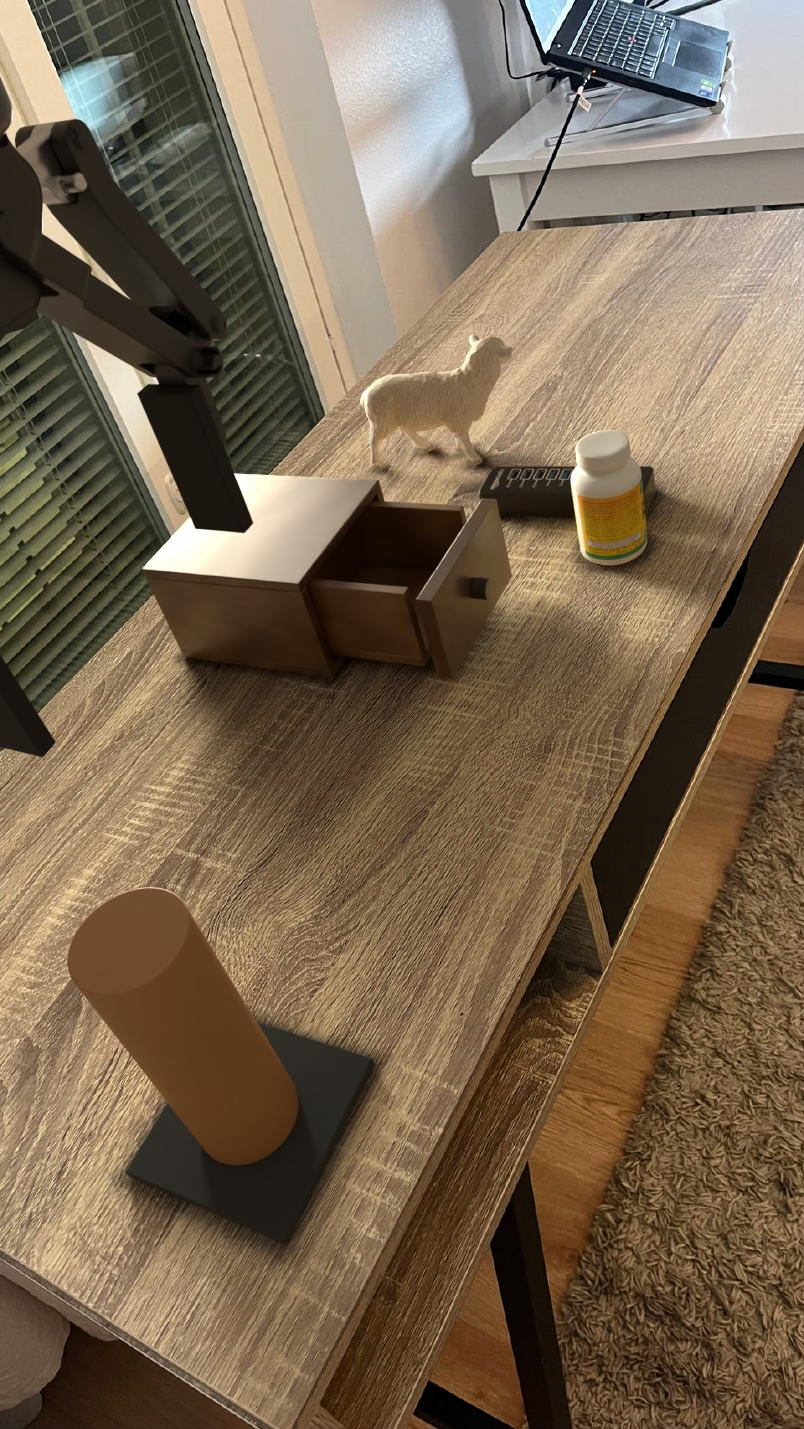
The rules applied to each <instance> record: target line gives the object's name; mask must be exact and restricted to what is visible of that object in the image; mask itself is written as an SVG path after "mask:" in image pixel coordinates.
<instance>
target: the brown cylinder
mask: <svg viewBox="0 0 804 1429" xmlns="http://www.w3.org/2000/svg"><path fill="white" fill-rule="evenodd" d="M66 960H67V961H66V962H67V971H68V974H69V976H70V979H71V981H72V982H73V983H74V985H75V986H76V987H77V988H78V990H79V991H80V992H81V994H82V995H83V996H84V998H85V999H86V1000H87V1001H88V1003H89V1004H90V1005H91V1007H92V1008H93V1009H94V1011H95V1012H96V1013H97V1014H98V1016H99V1017H100V1018H101V1020H102V1021H103V1022H104V1023H105V1024H106V1026H107V1027H108V1028H109V1029H110V1031H111V1032H112V1033H113V1035H114V1036H115V1037H116V1039H118V1041H119V1042H120V1044H121V1045H122V1046H123V1048H124V1049H125V1050H126V1051H127V1053H128V1054H129V1056H131V1058H132V1059H133V1060H134V1062H135V1063H136V1064H137V1065H138V1067H139V1068H140V1070H142V1072H143V1073H144V1074H145V1076H146V1077H147V1078H148V1080H149V1081H150V1082H151V1083H152V1085H153V1086H154V1088H155V1089H156V1090H157V1092H158V1093H159V1094H160V1095H161V1096H162V1097H163V1099H164V1100H165V1101H166V1103H167V1102H168V1104H169V1105H170V1106H171V1108H172V1109H173V1110H174V1111H175V1113H176V1114H177V1115H178V1117H179V1118H180V1119H181V1120H182V1122H183V1123H184V1124H185V1126H186V1127H187V1128H188V1129H189V1131H190V1132H191V1133H192V1134H193V1136H194V1137H195V1138H196V1140H197V1141H198V1142H199V1143H200V1145H201V1146H202V1147H203V1149H204V1150H205V1151H206V1152H207V1153H208V1154H209V1155H210V1156H211V1157H212V1158H214V1159H215V1160H217V1161H219V1162H221V1163H224V1164H228V1165H246V1164H250V1163H254V1162H256V1161H259V1160H261V1159H263V1158H265V1157H267V1156H268V1155H270V1154H271V1153H273V1152H274V1151H275V1150H276V1149H277V1148H278V1147H279V1146H280V1145H281V1144H282V1143H283V1142H284V1141H285V1139H286V1138H287V1137H288V1135H289V1134H290V1132H291V1130H292V1128H293V1126H294V1124H295V1121H296V1118H297V1113H298V1104H299V1102H298V1094H297V1090H296V1087H295V1085H294V1083H293V1081H292V1080H291V1078H290V1076H289V1075H288V1073H287V1071H286V1070H285V1068H284V1066H283V1065H282V1063H281V1062H280V1060H279V1058H278V1057H277V1055H276V1053H275V1052H274V1050H273V1048H272V1047H271V1045H270V1043H269V1042H268V1040H267V1038H266V1037H265V1035H264V1033H263V1032H262V1030H261V1028H260V1027H259V1025H258V1023H257V1022H258V1021H257V1020H256V1019H255V1017H254V1015H253V1013H252V1012H251V1010H250V1008H249V1007H248V1006H247V1004H246V1002H245V1000H244V998H243V997H242V995H241V994H240V992H239V990H238V989H237V987H236V986H235V984H234V982H233V980H232V979H231V977H230V975H229V973H228V972H227V971H226V968H225V967H224V965H223V963H222V962H221V960H220V958H219V957H218V955H217V953H216V952H215V951H214V948H213V947H212V946H211V943H210V942H209V941H208V939H207V937H206V936H205V934H204V933H203V930H202V929H201V927H200V925H199V924H198V922H197V921H196V919H195V918H194V916H193V914H192V912H191V910H190V909H189V907H188V906H187V904H186V903H185V901H184V900H183V899H182V898H181V897H180V896H178V894H176V893H175V892H172V891H170V890H167V889H165V888H161V887H152V886H151V887H141V888H140V887H138V888H134V889H130V890H127V891H125V892H122V893H119V894H117V895H115V896H113V897H111V898H109V899H107V900H106V901H104V902H103V903H101V904H100V905H98V906H97V907H96V908H95V909H94V910H93V911H92V912H90V914H89V915H88V916H87V917H86V918H85V919H84V920H83V921H82V923H81V924H80V925H79V927H78V928H77V929H76V931H75V932H74V934H73V937H72V939H71V941H70V944H69V946H68V950H67V958H66ZM256 1021H257V1022H256Z"/></svg>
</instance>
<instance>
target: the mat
mask: <svg viewBox="0 0 804 1429" xmlns="http://www.w3.org/2000/svg"><path fill="white" fill-rule="evenodd" d="M256 1022H257V1023H258V1025H259V1027H260V1028H261V1030H262V1032H263V1033H264V1035H265V1037H266V1038H267V1040H268V1042H269V1043H270V1045H271V1047H272V1048H273V1050H274V1052H275V1053H276V1055H277V1057H278V1058H279V1060H280V1062H281V1063H282V1065H283V1066H284V1068H285V1070H286V1071H287V1073H288V1075H289V1076H290V1078H291V1080H292V1081H293V1083H294V1085H295V1087H296V1090H297V1094H298V1102H299V1104H298V1113H297V1118H296V1121H295V1124H294V1126H293V1128H292V1130H291V1132H290V1134H289V1135H288V1137H287V1138H286V1139H285V1141H284V1142H283V1143H282V1144H281V1145H280V1146H279V1147H278V1148H277V1149H276V1150H275V1151H274V1152H273V1153H271V1154H270V1155H268V1156H267V1157H265V1158H263V1159H261V1160H259V1161H256V1162H254V1163H250V1164H246V1165H228V1164H224V1163H221V1162H219V1161H217V1160H215V1159H214V1158H212V1157H211V1156H210V1155H209V1154H208V1153H207V1152H206V1151H205V1150H204V1149H203V1147H202V1146H201V1145H200V1143H199V1142H198V1141H197V1140H196V1138H195V1137H194V1136H193V1134H192V1133H191V1132H190V1131H189V1129H188V1128H187V1127H186V1126H185V1124H184V1123H183V1122H182V1120H181V1119H180V1118H179V1117H178V1115H177V1114H176V1113H175V1111H174V1110H173V1109H172V1108H171V1106H170V1105H169V1104H168V1102H167V1101H166V1103H165V1105H164V1107H163V1109H162V1111H160V1114H159V1115H158V1117H157V1119H156V1120H155V1122H154V1123H153V1125H152V1127H151V1129H150V1130H149V1132H148V1133H147V1136H145V1139H144V1140H143V1142H142V1143H141V1145H140V1147H139V1148H138V1150H137V1151H136V1153H135V1155H134V1157H133V1158H132V1160H131V1162H130V1163H129V1165H128V1166H127V1168H126V1170H125V1174H126V1176H128V1178H131V1179H133V1180H135V1181H138V1182H140V1183H141V1184H143V1185H147V1186H148V1187H151V1188H154V1189H156V1190H158V1191H160V1192H163V1193H165V1194H168V1195H169V1196H172V1197H175V1198H177V1199H179V1200H181V1201H184V1202H186V1203H188V1204H190V1205H193V1206H196V1207H198V1208H200V1209H202V1210H204V1211H207V1212H209V1213H212V1214H214V1215H216V1216H218V1217H221V1218H223V1219H225V1220H228V1221H230V1222H232V1223H234V1224H238V1225H240V1226H242V1227H243V1228H246V1229H249V1230H251V1231H254V1232H256V1233H258V1234H260V1235H263V1236H265V1237H267V1238H270V1239H272V1240H274V1241H277V1242H278V1243H282V1244H284V1245H288V1243H289V1241H290V1240H291V1237H292V1235H293V1233H294V1231H295V1230H296V1227H297V1225H298V1223H299V1221H300V1219H301V1216H302V1214H303V1212H304V1211H305V1208H306V1206H307V1204H308V1203H309V1200H310V1199H311V1196H312V1194H313V1192H314V1190H315V1189H316V1186H317V1183H318V1182H319V1179H320V1178H321V1175H323V1174H322V1173H323V1172H324V1169H325V1168H326V1165H327V1164H328V1161H329V1159H330V1157H331V1155H332V1154H333V1151H334V1149H335V1147H336V1145H337V1143H338V1141H339V1139H340V1136H341V1134H342V1132H343V1131H344V1129H345V1127H346V1124H347V1122H348V1120H349V1118H350V1116H351V1114H352V1112H353V1110H354V1108H355V1106H356V1104H357V1102H358V1100H359V1098H360V1095H361V1094H362V1091H363V1089H364V1087H365V1085H366V1083H367V1081H368V1080H369V1077H370V1076H371V1073H372V1072H373V1069H374V1067H375V1064H376V1063H375V1061H374V1059H373V1058H372V1057H369V1056H365V1055H364V1054H363V1055H362V1054H360V1053H357V1052H354V1051H350V1050H347V1049H344V1048H341V1047H338V1046H335V1045H331V1044H328V1043H325V1042H322V1041H319V1040H315V1039H313V1038H310V1037H306V1036H303V1035H300V1034H298V1033H294V1032H292V1031H289V1030H285V1029H282V1028H278V1027H276V1026H273V1025H269V1024H266V1023H263V1022H260V1021H257V1020H256Z"/></svg>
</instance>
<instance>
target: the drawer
mask: <svg viewBox="0 0 804 1429" xmlns="http://www.w3.org/2000/svg"><path fill="white" fill-rule="evenodd" d="M464 507H465V506H464V505H463V504H447V503H427V502H409V501H408V502H407V501H405V502H404V501H386V500H385V501H371V502H370V503H369V504H368V505H367V507H366V508H365V509H364V511H363V512H362V513H361V515H360V516H359V517H358V519H357V520H356V521H355V523H354V524H353V525H352V526H351V528H350V529H349V530H348V532H347V533H346V534H345V536H344V537H343V538H342V540H341V541H340V542H339V543H338V545H337V546H336V547H335V549H334V550H333V551H332V553H331V554H330V555H329V557H328V558H327V559H326V561H325V562H324V563H323V564H322V566H321V567H320V568H319V570H318V571H317V572H316V574H315V575H314V576H313V578H312V579H311V580H310V582H309V583H308V584H307V585H306V587H307V590H308V593H309V595H310V598H311V601H312V604H313V606H314V609H315V612H316V615H317V617H318V620H319V623H320V626H321V628H322V631H323V634H324V637H325V639H326V642H327V645H328V648H329V650H330V653H331V654H333V655H341V656H347V657H349V658H357V659H366V660H372V661H381V662H389V663H395V664H405V665H413V666H421V667H426V665H427V664H428V662H429V660H430V659H432V661H433V665H434V668H435V669H434V670H435V672H436V676H437V678H438V679H443V680H453V679H454V678H455V676H456V675H457V673H458V671H459V669H460V667H461V665H462V664H463V662H464V661H465V659H466V657H467V656H468V653H469V652H470V651H471V648H472V647H473V645H474V644H475V642H476V640H477V638H478V636H479V634H480V633H481V631H482V629H483V628H484V626H485V624H486V622H487V621H488V619H489V618H490V616H491V614H492V613H493V611H494V608H495V607H496V605H497V604H498V602H499V600H500V598H501V597H502V595H503V593H504V591H505V590H506V588H507V586H508V584H509V583H510V581H511V579H512V578H513V575H512V569H511V564H510V560H509V554H508V550H507V549H508V548H507V545H506V540H505V534H504V529H503V524H502V520H501V516H500V514H499V509H498V504H497V500H496V499H482V500H481V501H480V500H479V503H478V504H477V506H476V507H475V509H474V511H473V512H472V513H471V515H470V516H469V517H468V519H467V516H466V512H465V508H464Z"/></svg>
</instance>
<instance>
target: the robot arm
mask: <svg viewBox="0 0 804 1429" xmlns="http://www.w3.org/2000/svg"><path fill="white" fill-rule="evenodd" d="M13 118H14V108H13V104H12V100H11V97H10V96H9V94H8V91H7V89H6V86H5V84H4V81H3V79H2V77H1V76H0V342H1V341H2V340H3V339H4V337H5V336H6V335H7V334H10V333H14V332H17V331H21V330H25V329H26V328H28V327H29V326H31V325H32V324H33V323H34V322H36V321H37V320H39V319H40V316H39V314H40V315H42V316H44V317H46V318H47V319H49V320H51V321H53V322H54V323H56V324H58V325H60V326H62V327H63V328H65V329H66V330H68V331H70V332H71V333H73V334H75V335H77V336H79V337H81V338H82V339H83V340H85V341H87V342H89V343H91V344H93V345H94V346H96V347H98V348H100V349H101V350H103V351H105V352H107V353H108V354H110V355H111V356H113V357H115V358H117V359H118V360H120V361H122V362H123V363H125V364H127V365H129V366H131V367H132V368H134V369H136V370H137V371H139V372H141V373H143V374H145V376H148V377H149V378H156V381H157V383H147V384H145V386H144V387H142V389H140V390H139V391H138V392H137V393H136V394H137V397H138V399H139V401H140V404H141V406H142V409H143V410H144V413H145V415H146V419H147V420H148V423H149V425H150V428H151V429H152V431H153V435H154V437H155V438H156V441H157V442H158V446H159V448H160V450H161V453H162V456H163V457H164V460H165V461H166V465H167V466H168V470H169V471H170V474H171V476H172V479H173V480H174V483H175V484H176V487H177V490H178V492H179V495H180V497H181V499H182V501H183V504H184V507H185V509H186V511H187V513H188V515H189V518H191V520H192V522H193V525H194V527H195V529H203V530H214V531H225V532H236V533H245V532H246V531H247V530H248V529H249V528H250V527H251V525H252V524H253V520H252V518H251V515H250V513H249V510H248V507H247V505H246V502H245V500H244V497H243V494H242V492H241V489H240V487H239V484H238V481H237V479H236V476H235V474H236V473H235V471H234V468H233V466H232V464H231V461H230V458H229V455H228V453H227V451H226V448H225V444H226V443H227V442H228V440H227V434H226V426H225V424H224V422H223V420H222V417H221V415H220V412H219V411H220V410H219V409H218V407H217V404H216V400H215V398H214V396H213V392H212V390H211V387H210V384H209V382H208V380H207V379H215V378H218V377H220V375H222V373H223V369H224V362H225V360H224V356H223V355H224V354H223V353H222V351H221V349H220V348H219V347H218V346H216V345H215V346H211V345H212V343H213V341H221V340H222V339H224V338H225V336H226V333H227V330H228V329H227V328H228V323H227V318H226V316H225V314H224V311H222V310H221V308H220V307H219V306H218V305H217V303H216V302H215V301H214V299H212V297H211V295H209V293H208V292H207V291H206V290H205V289H204V287H203V286H202V285H201V284H200V282H198V281H197V279H196V277H194V275H193V274H192V273H191V272H190V271H189V270H188V268H187V266H185V264H183V262H182V261H181V260H180V259H179V257H178V256H177V255H176V254H175V252H174V251H173V250H172V249H171V248H170V246H169V245H168V244H167V243H166V242H165V240H164V239H163V238H162V237H161V235H160V234H159V232H157V231H156V229H155V228H154V227H153V226H152V225H151V224H150V223H149V221H148V220H147V218H145V216H144V215H143V214H142V212H141V211H140V210H139V209H138V208H137V207H136V205H135V204H134V203H133V202H132V201H131V199H130V197H128V195H127V194H126V193H125V192H124V191H123V189H122V188H121V187H120V186H119V185H118V184H117V182H116V181H115V180H114V178H113V176H112V173H111V171H110V169H109V166H108V165H107V163H106V161H105V158H104V156H103V154H102V152H101V151H100V148H99V146H98V144H97V142H96V139H95V138H94V135H93V134H92V131H91V129H90V128H89V127H88V125H87V123H86V122H84V121H83V120H81V119H78V118H72V119H65V120H60V121H52V122H45V123H39V124H32V125H26V126H21V127H20V128H18V130H17V131H16V132H15V136H14V144H13V143H12V141H11V140H10V137H8V135H7V131H8V130H9V128H10V127H11V125H12V122H13ZM44 205H45V206H46V207H47V209H48V210H49V212H50V213H51V215H52V216H53V217H54V218H55V219H56V220H57V222H58V223H59V224H60V226H62V227H63V229H65V231H66V232H67V233H68V234H69V235H70V236H71V238H73V239H74V240H75V241H76V242H77V244H78V245H79V246H80V247H81V248H82V249H83V250H84V251H85V252H86V253H87V254H88V256H90V258H91V259H92V260H94V262H95V263H96V264H97V265H98V266H99V267H100V269H102V271H103V272H104V273H105V274H106V275H107V276H108V277H109V278H110V279H111V281H113V282H114V284H115V285H116V286H117V287H118V288H119V289H120V290H121V291H122V292H123V293H124V294H125V295H126V296H125V295H124V294H122V293H121V292H119V291H118V290H116V289H115V288H113V287H112V286H110V285H109V284H107V283H106V282H104V281H103V280H101V279H99V278H98V277H96V276H95V275H94V274H92V272H93V268H92V266H91V265H90V264H89V263H88V262H86V261H84V260H83V259H82V258H80V257H78V256H77V255H76V254H74V253H72V252H71V251H69V250H68V249H66V248H65V247H63V246H62V245H60V244H59V243H57V241H54V240H53V239H51V238H50V237H48V236H47V235H45V234H44V233H43V223H44V222H43V219H44V218H43V217H44V216H43V214H44V213H43V208H44V207H43V206H44ZM56 743H57V742H56V740H55V739H54V737H53V735H52V733H51V732H50V731H49V729H48V727H47V725H46V724H45V722H44V721H43V719H42V718H41V717H40V715H39V713H38V712H37V710H36V707H34V706H33V704H32V701H30V698H28V696H27V694H26V693H25V691H24V689H23V688H22V686H21V685H20V683H19V682H18V680H17V679H16V677H15V675H14V674H13V672H12V671H11V669H10V668H9V665H8V664H7V663H6V660H5V659H4V658H3V656H2V654H0V748H2V749H6V750H11V751H13V752H18V753H23V754H25V755H26V754H27V755H32V756H34V757H35V756H36V757H39V758H44V757H45V756H46V755H47V754H48V752H49V751H50V750H51V749H52V748H53V747H54V746H55V745H56Z"/></svg>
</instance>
